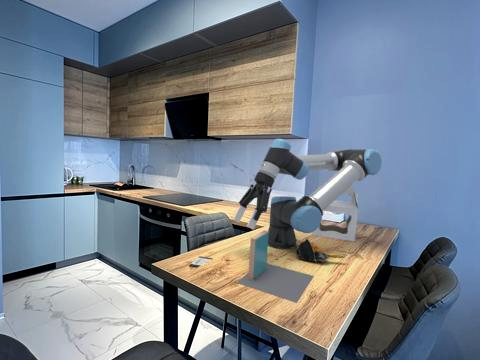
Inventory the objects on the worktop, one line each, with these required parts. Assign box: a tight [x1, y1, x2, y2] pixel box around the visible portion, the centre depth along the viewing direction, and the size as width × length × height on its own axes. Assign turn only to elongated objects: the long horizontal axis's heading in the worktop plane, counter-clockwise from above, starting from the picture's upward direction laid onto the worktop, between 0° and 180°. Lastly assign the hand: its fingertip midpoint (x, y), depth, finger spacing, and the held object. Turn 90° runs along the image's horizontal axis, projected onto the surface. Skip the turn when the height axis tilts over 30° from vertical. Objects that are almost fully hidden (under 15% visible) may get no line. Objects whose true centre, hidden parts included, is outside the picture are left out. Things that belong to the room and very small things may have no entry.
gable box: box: [311, 183, 359, 242], centre depth 141 cm, size 22×13×28 cm, turn 70°
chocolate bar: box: [188, 255, 214, 269], centre depth 96 cm, size 9×1×18 cm
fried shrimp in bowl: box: [295, 239, 346, 264], centre depth 105 cm, size 9×11×18 cm
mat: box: [235, 262, 315, 304], centre depth 86 cm, size 20×20×1 cm
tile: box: [248, 230, 269, 280], centre depth 89 cm, size 11×2×14 cm, turn 151°
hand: (242, 224), depth 98 cm, fingers open, 13 cm apart
